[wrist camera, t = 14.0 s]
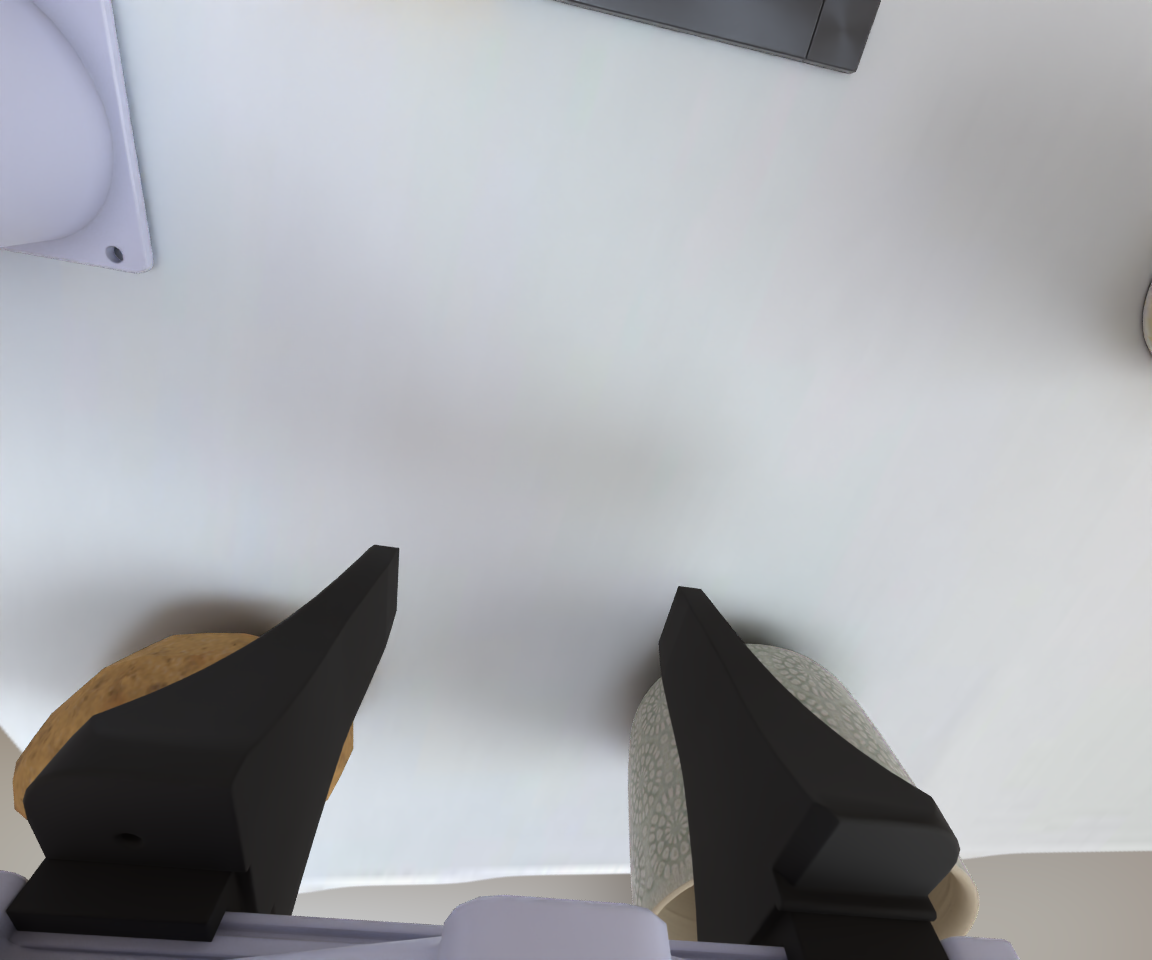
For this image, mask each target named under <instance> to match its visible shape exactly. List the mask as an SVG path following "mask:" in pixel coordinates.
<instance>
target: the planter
mask: <svg viewBox="0 0 1152 960" xmlns="http://www.w3.org/2000/svg"><path fill="white" fill-rule="evenodd" d="M746 646H747V647H748V648H749V649H750V650H751V651H752V653H753V654H754V655H755V656H756V657H757V658H758V659H759V661H760V662H761V663H762V664H763V665H764V666H765V667H766V668H767V669H768V670H769V671H770V672H771V673H772V675H773V676H774V677H775V678H776V679H777V680H778V681H779V682H780V683H781V684H782V685H783V686H784V687H785V688H786V689H787V690H788V691H789V692H791V693H792V694H793V695H794V696H795V697H796V698H797V699H798V700H799V701H800V702H801V703H802V704H803V705H804V706H805V707H807V708H808V709H809V710H810V711H811V712H812V713H813V714H815V715H816V716H817V717H818V718H819V719H821V720H822V721H823V722H824V723H825V724H827V725H828V726H829V727H830V728H832V729H833V730H834V731H835V732H837V733H838V734H839V735H840V736H842V737H843V738H844V739H845V740H847V741H848V742H849V743H851V744H852V745H853V746H855V747H856V748H857V749H859V750H860V751H862V752H863V753H865V754H866V755H867V756H869V757H870V758H872V759H873V760H874V761H876V762H877V763H879V764H880V765H882V766H883V767H885V768H886V769H888V770H889V771H891V772H892V773H894V774H895V775H897V776H899V777H900V778H902V779H904V780H905V781H907V782H908V783H910V784H912V785H913V786H915V784H914V783H913V781H912V780H911V778H910V777H909V775H908V774H907V772H906V771H905V769H904V768H903V766H902V765H901V764H900V762H899V761H898V759H897V758H896V756H895V755H894V753H893V752H892V750H891V749H890V747H889V746H888V744H887V743H886V741H885V740H884V738H883V737H882V735H881V734H880V733H879V731H878V730H877V728H876V727H875V726H874V724H873V723H872V721H871V720H870V719H869V717H868V716H867V714H866V713H865V712H864V710H863V709H862V708H861V706H860V705H859V704H858V703H857V701H856V700H855V699H854V698H853V696H852V695H851V694H850V692H849V691H848V690H847V689H846V688H845V686H844V685H843V684H842V683H841V682H840V681H839V680H838V679H837V678H836V677H835V676H834V675H832V674H831V673H830V672H829V671H828V670H827V669H825V668H824V667H822V666H821V665H819V664H818V663H816V662H815V661H813V660H811V659H809V658H808V657H805V656H803V655H801V654H799V653H796V652H794V651H791V650H787V649H784V648H780V647H775V646H770V645H762V644H746ZM915 787H916V786H915ZM916 788H917V787H916ZM628 804H629V843H630V867H631V886H632V899H633V900H632V901H633V905H634V906H639V907H643V908H648V909H649V910H650V911H652V912H653V913H654V914H655V915H657V916H658V917H659V918H660V919H662V920H663V921H664V922H665V923H666V925H667V932H668V939H669V940H681V941H696V942H697V924H696V906H695V893H694V880H693V867H692V855H691V845H690V835H689V825H688V816H687V807H686V799H685V791H684V783H683V776H682V770H681V765H680V759H679V755H678V750H677V746H676V742H675V737H674V733H673V728H672V724H671V720H670V715H669V711H668V706H667V702H666V697H665V692H664V688H663V683H662V677H660V678H659V679H658V680H657V681H656V682H655V683H654V684H653V685H652V686H651V688H650V689H649V690H648V692H647V693H646V695H645V696H644V698H643V699H642V701H641V703H640V705H639V707H638V709H637V712H636V714H635V717H634V720H633V724H632V728H631V734H630V742H629V762H628ZM928 897H929V899H930V901H931V903H932V905H933V907H934V909H935V911H936V913H937V919H936V920H935V921H934V922H932V921H930V922H931V924H932V926H933V928H934V930H935V932H936V934H937V936H938V938H939V940H940V941H941V940H942V939H945V938H949V937H955V936H966V934H967V933H968V932H969V930H970V929H971V927H972V925H973V923H974V921H975V919H976V917H977V914H978V910H979V894H978V890H977V887H976V885H975V882H974V881H973V879H972V877H971V875H970V873H969V871H968V869H967V868H966V866H965V864H964V863H963V861H962V859H961V857H960V856H958V860H957V863H956V864H955V865H954V867H953V868H952V870H951V871H950V872H949V873H948V874H947V875H946V877H945V878H944V879H943V880H942V881H941V882H940V883H939V884H938V885H937V886H936V887H935V888H934V889H933V890H932V891H931V892H930V893H929V895H928Z"/></svg>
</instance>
